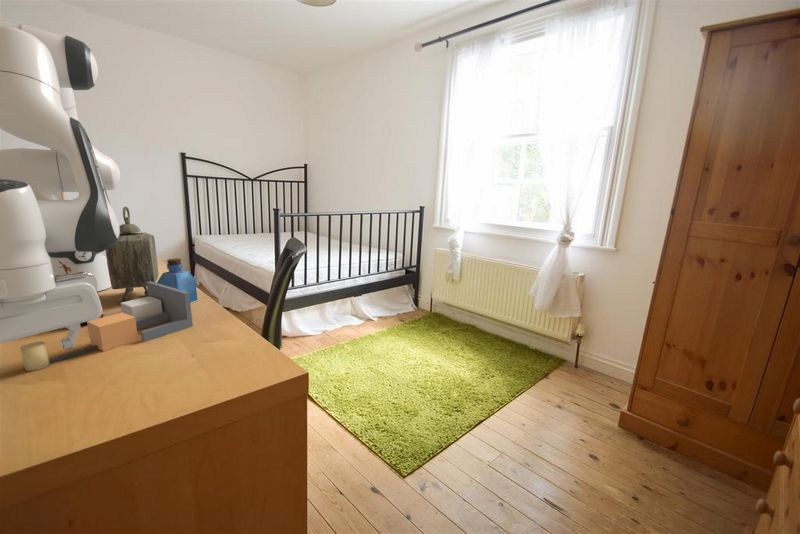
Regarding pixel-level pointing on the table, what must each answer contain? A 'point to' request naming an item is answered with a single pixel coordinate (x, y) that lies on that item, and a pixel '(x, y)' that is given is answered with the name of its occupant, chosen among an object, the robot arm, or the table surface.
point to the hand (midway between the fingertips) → (33, 358)
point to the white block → (142, 307)
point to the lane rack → (166, 311)
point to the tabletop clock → (132, 259)
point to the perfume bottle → (179, 278)
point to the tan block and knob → (102, 337)
